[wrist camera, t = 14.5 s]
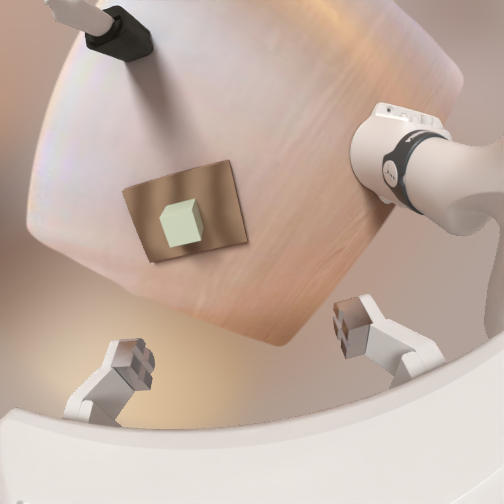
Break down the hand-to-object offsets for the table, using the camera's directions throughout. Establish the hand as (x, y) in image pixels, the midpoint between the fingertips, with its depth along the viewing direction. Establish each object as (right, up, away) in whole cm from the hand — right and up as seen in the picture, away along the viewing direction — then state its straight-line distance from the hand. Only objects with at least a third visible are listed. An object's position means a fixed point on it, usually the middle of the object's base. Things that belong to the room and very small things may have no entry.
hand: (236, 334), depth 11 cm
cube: (-10, +9, +32) cm, 35 cm away
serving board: (-10, +10, +34) cm, 37 cm away
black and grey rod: (-17, +35, +19) cm, 43 cm away
